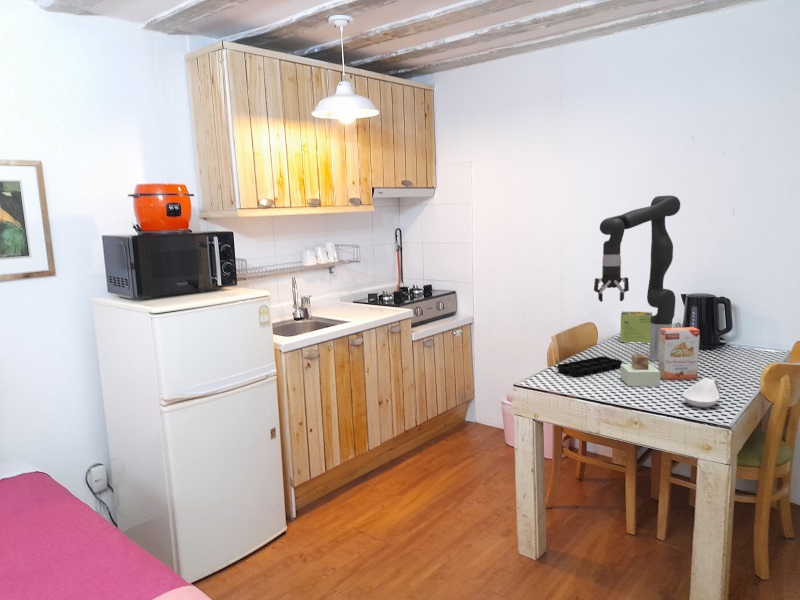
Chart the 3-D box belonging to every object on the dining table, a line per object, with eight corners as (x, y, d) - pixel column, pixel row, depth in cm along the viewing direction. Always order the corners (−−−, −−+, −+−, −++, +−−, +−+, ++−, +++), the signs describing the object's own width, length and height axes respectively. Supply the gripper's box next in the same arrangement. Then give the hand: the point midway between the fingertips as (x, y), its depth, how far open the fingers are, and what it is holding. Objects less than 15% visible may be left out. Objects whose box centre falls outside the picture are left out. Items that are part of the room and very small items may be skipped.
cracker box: (664, 380, 233) (665, 330, 230) (657, 376, 239) (658, 327, 236) (698, 379, 233) (700, 329, 230) (691, 375, 239) (692, 326, 236)
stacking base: (650, 378, 238) (650, 364, 237) (659, 386, 226) (660, 371, 225) (620, 378, 239) (620, 364, 238) (628, 386, 227) (628, 372, 226)
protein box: (651, 344, 296) (652, 315, 294) (620, 343, 302) (620, 314, 300) (651, 340, 306) (652, 311, 303) (620, 338, 312) (621, 311, 309)
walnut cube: (644, 366, 234) (644, 354, 233) (648, 369, 229) (648, 357, 228) (631, 366, 234) (632, 354, 234) (635, 369, 229) (635, 357, 229)
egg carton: (552, 374, 251) (552, 365, 250) (591, 361, 269) (591, 353, 269) (588, 381, 237) (588, 373, 237) (626, 367, 256) (626, 359, 255)
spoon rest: (714, 413, 195) (715, 393, 194) (677, 407, 203) (678, 387, 202) (729, 395, 213) (730, 376, 212) (694, 390, 221) (695, 372, 220)
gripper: (626, 263, 252) (625, 299, 254) (592, 264, 254) (592, 300, 256) (630, 264, 245) (630, 302, 247) (596, 265, 246) (596, 303, 249)
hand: (611, 301), depth 251 cm, fingers open, 8 cm apart
